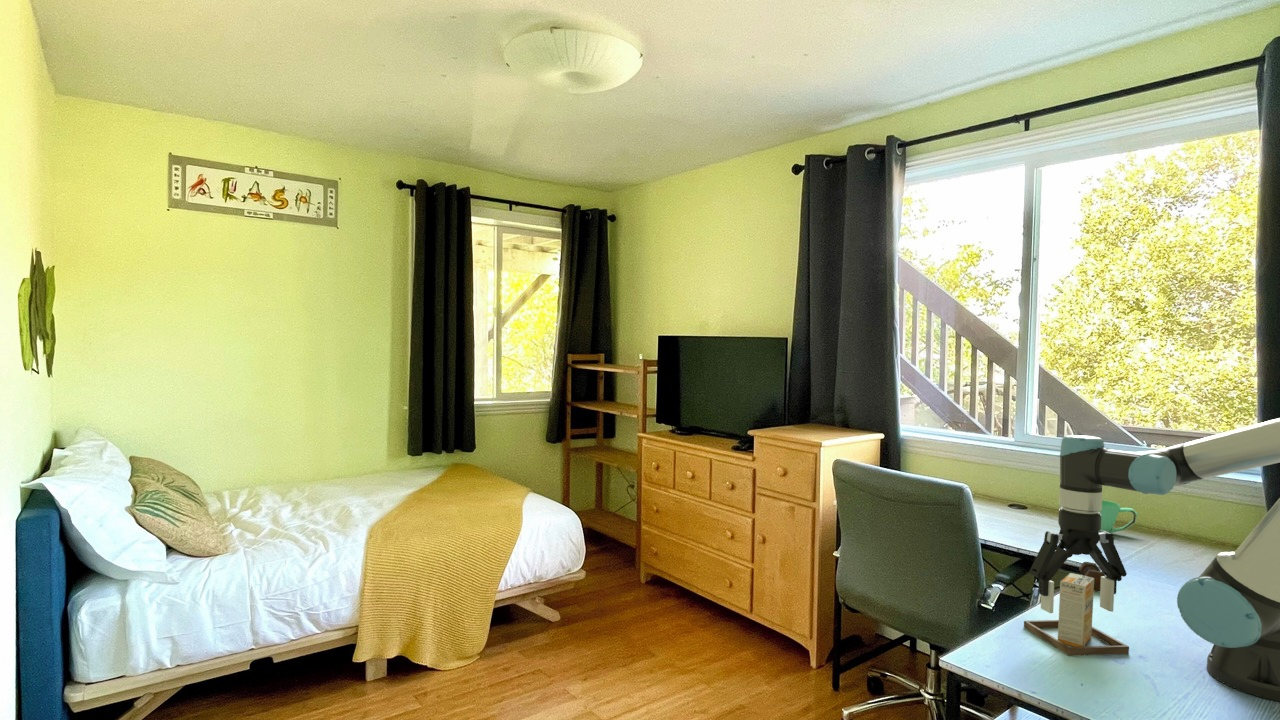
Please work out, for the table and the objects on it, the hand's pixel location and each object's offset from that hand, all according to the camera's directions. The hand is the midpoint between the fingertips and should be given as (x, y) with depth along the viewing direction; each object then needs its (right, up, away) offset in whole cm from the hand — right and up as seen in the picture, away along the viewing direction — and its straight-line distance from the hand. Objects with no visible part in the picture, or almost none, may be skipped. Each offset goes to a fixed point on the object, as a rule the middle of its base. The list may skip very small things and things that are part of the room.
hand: (1076, 610), depth 141 cm
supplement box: (0, -7, 0) cm, 7 cm away
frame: (0, -7, 0) cm, 7 cm away
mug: (+66, -6, +84) cm, 107 cm away
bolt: (+28, -7, +36) cm, 46 cm away
